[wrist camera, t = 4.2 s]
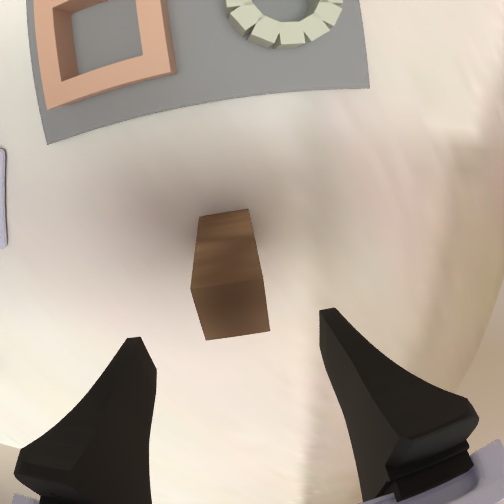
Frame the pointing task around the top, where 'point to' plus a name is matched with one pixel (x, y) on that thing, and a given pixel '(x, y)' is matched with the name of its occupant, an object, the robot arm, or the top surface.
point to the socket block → (184, 55)
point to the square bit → (228, 277)
